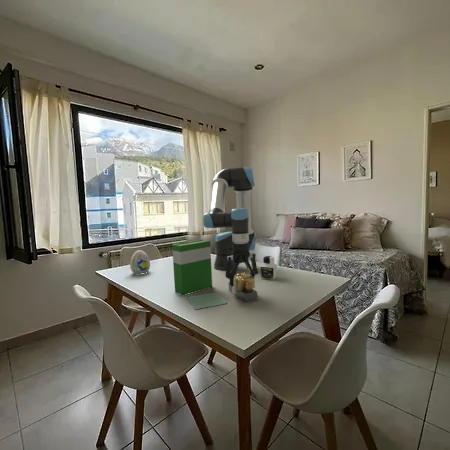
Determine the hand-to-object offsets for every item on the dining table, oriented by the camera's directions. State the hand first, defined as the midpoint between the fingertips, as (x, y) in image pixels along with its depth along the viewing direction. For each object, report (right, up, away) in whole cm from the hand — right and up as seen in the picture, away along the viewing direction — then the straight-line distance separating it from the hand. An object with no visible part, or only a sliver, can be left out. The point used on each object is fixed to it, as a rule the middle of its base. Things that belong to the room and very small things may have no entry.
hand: (242, 290), depth 117 cm
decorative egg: (-63, -1, +47) cm, 78 cm away
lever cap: (0, +2, 0) cm, 2 cm away
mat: (-16, -3, -5) cm, 17 cm away
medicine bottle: (+17, +1, +25) cm, 30 cm away
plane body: (0, -2, 0) cm, 2 cm away
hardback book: (-24, -2, +12) cm, 27 cm away
